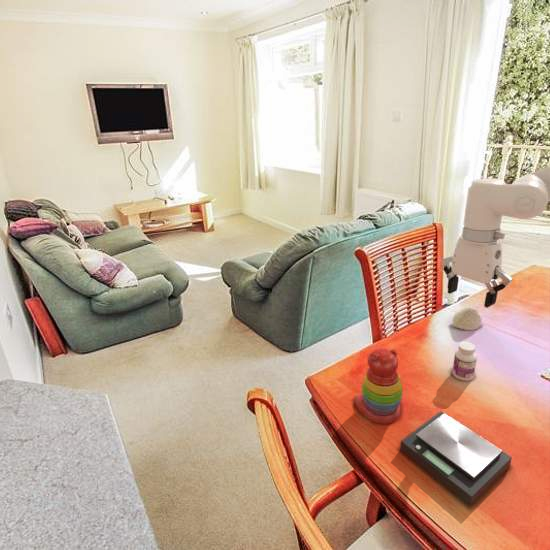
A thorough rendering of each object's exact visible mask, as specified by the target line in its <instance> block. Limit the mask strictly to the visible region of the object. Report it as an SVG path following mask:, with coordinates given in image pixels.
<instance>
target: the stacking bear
mask: <svg viewBox="0 0 550 550" xmlns="http://www.w3.org/2000/svg"><path fill="white" fill-rule="evenodd" d="M397 356H398V351H397V350H396V349H394V348H393V349H391V350H390V349H388V348H386V347H380V348H377V349H374V350H373V351H372V352H371V353H369V354H368V355H367V358H366V359H367V365H368V368H367V370H366V373H365V375H364V378H363V381H362V385H361V393H362V394H359V395H357V396H356V398H355V400H354V404H355V407H356V408H357V410H358V411H359V412H360V413H361V414H362V415H363V416H364V417H365V418H366V419H368V420H370V421H372V422H374V423H377V424H383V425H385V424H386V425H387V424H392V423H394V422H396V421H397V420H398V419H399V418H400V416H401V402H402V398H403V385H402V380H401V376H400V374H399V372H397V370H398V367H399V360H398V359H399V358H398V357H397Z"/></svg>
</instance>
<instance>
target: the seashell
mask: <svg viewBox="0 0 550 550" xmlns="http://www.w3.org/2000/svg"><path fill="white" fill-rule="evenodd" d="M482 320H483V319H482V316H481V314H480V313H479V312H478V311H477V309H475V307H472V306H467V307H465V308H463V309H461V310H459V311H457V312H455V313H454V315H453V317H452V327H454V328H457V329H460V330H465V331H473V330H477V329H479V328H480V327H481V326H482V324H483V323H482V322H483V321H482Z"/></svg>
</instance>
